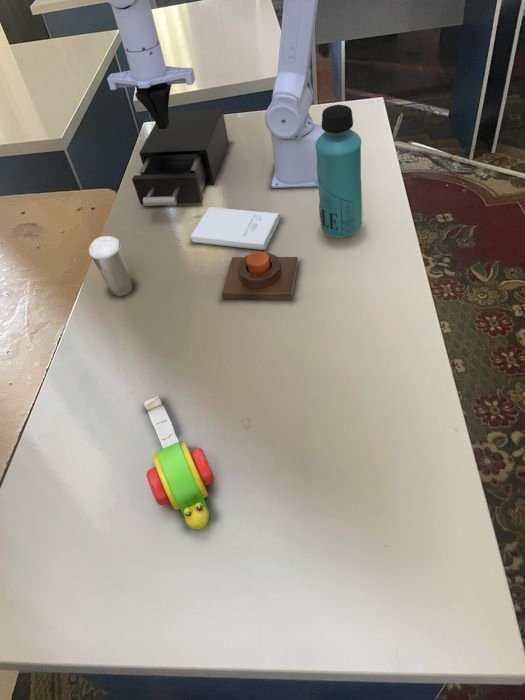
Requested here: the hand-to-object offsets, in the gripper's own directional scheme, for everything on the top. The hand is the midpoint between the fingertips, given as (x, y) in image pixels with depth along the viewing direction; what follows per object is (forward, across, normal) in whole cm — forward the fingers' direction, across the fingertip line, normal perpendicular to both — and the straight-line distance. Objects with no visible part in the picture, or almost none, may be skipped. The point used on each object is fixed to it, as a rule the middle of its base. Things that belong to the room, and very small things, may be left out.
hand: (164, 126), depth 100 cm
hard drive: (+10, +15, -18) cm, 25 cm away
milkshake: (+10, 0, -32) cm, 33 cm away
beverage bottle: (+10, +32, -19) cm, 38 cm away
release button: (+7, +21, -30) cm, 37 cm away
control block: (+9, +21, -30) cm, 38 cm away
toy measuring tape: (+10, +16, -61) cm, 64 cm away
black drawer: (+9, +2, -7) cm, 11 cm away
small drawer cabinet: (+9, +2, +3) cm, 10 cm away
